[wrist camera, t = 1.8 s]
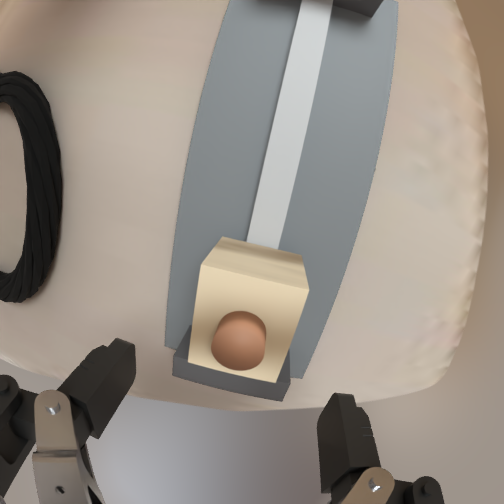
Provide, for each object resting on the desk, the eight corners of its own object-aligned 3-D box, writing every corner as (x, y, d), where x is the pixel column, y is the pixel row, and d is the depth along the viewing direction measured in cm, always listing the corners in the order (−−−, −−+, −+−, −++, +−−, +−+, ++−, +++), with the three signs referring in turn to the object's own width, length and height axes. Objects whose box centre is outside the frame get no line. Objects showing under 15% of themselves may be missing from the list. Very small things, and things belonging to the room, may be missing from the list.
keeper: (222, 236, 17) (190, 278, 11) (301, 255, 17) (312, 307, 11) (207, 317, 19) (179, 380, 13) (277, 334, 19) (274, 403, 13)
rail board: (245, -25, 13) (236, -64, 8) (392, 9, 13) (417, -22, 8) (170, 336, 23) (147, 376, 18) (301, 367, 23) (304, 413, 18)
